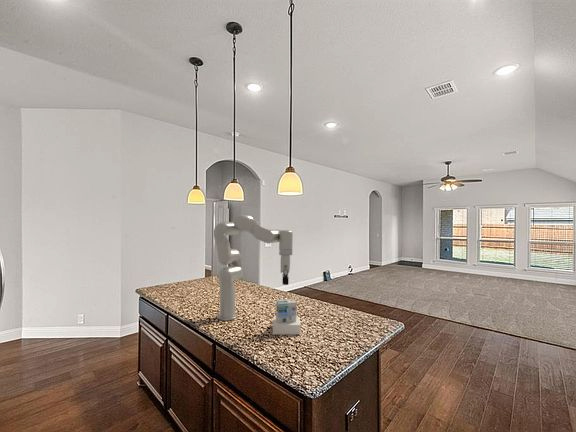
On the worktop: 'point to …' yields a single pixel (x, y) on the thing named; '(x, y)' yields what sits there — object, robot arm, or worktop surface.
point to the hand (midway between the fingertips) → (285, 282)
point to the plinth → (286, 327)
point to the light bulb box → (286, 311)
